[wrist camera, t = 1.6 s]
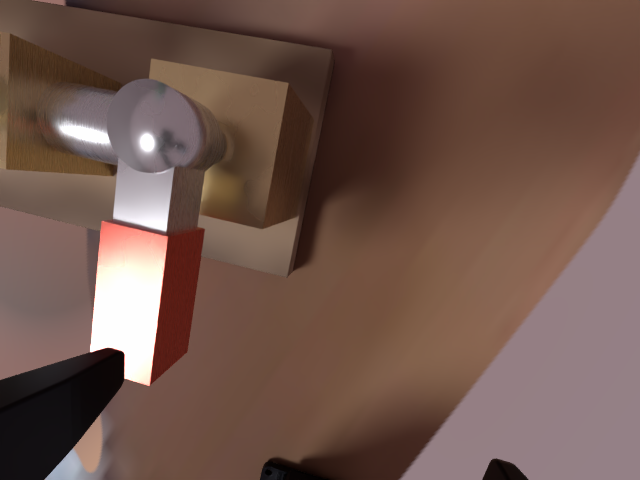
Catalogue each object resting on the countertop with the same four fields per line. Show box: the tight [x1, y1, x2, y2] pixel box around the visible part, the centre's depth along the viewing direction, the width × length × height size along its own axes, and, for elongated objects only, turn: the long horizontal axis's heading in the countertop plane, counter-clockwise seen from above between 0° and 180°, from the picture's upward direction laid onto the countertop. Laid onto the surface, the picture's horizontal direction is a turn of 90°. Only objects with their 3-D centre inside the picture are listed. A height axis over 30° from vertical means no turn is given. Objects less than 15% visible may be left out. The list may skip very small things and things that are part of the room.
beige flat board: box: [0, 0, 335, 278], centre depth 20 cm, size 13×22×2 cm, turn 78°
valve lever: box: [91, 79, 222, 386], centre depth 11 cm, size 9×3×2 cm, turn 168°
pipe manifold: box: [0, 32, 314, 229], centre depth 15 cm, size 6×23×10 cm, turn 78°
